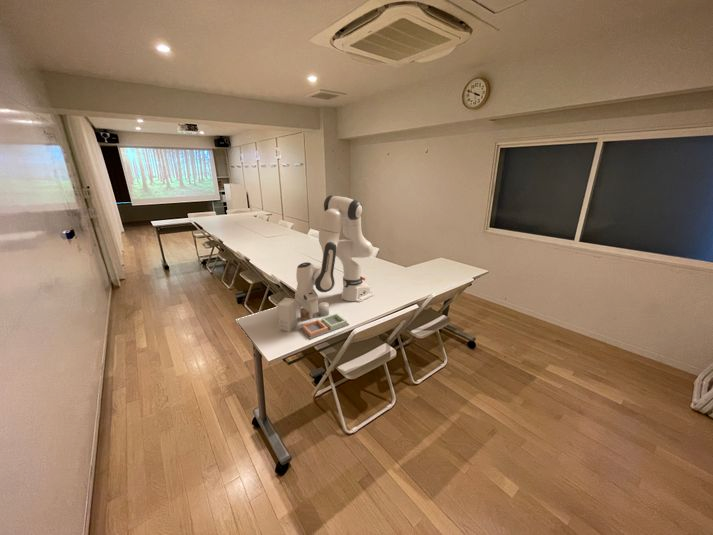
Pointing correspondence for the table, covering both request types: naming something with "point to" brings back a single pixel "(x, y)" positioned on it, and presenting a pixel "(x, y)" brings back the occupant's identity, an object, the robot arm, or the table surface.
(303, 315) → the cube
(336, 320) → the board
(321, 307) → the grey rounded cylinder
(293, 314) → the skincare box
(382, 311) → the table surface
